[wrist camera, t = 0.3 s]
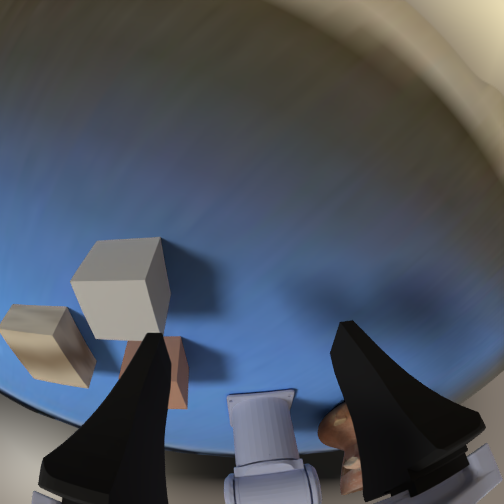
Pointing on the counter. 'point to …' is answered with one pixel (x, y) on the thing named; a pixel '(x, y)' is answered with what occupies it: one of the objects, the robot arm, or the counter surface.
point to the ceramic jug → (343, 446)
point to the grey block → (124, 288)
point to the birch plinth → (48, 344)
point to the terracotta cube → (178, 369)
